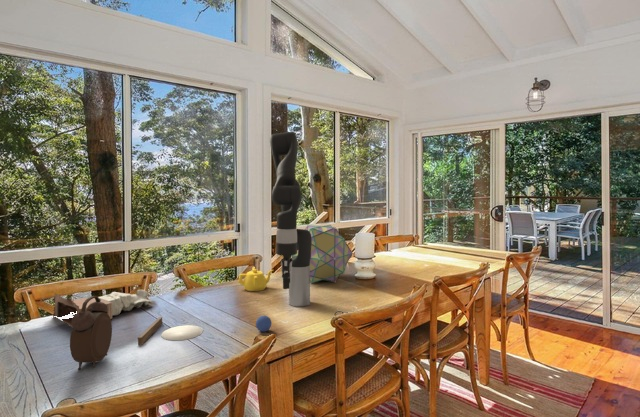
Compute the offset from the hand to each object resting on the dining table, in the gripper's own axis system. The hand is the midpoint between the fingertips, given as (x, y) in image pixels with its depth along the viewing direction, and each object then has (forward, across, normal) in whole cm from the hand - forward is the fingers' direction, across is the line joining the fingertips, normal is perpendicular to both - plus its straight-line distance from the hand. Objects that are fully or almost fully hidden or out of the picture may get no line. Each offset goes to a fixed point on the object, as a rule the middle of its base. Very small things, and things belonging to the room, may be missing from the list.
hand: (286, 285), depth 144 cm
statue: (+18, +18, +74) cm, 78 cm away
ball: (+14, 0, +8) cm, 16 cm away
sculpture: (+16, +74, -15) cm, 77 cm away
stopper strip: (+17, -1, +48) cm, 51 cm away
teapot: (+16, +58, +18) cm, 64 cm away
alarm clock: (+17, -24, +57) cm, 64 cm away
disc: (+17, -1, +37) cm, 41 cm away
